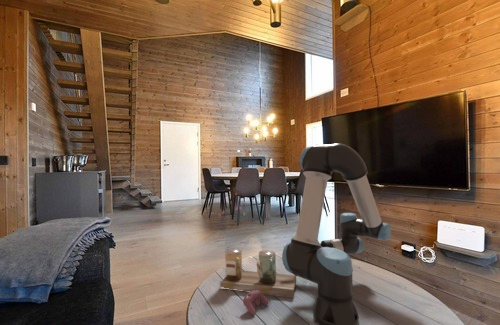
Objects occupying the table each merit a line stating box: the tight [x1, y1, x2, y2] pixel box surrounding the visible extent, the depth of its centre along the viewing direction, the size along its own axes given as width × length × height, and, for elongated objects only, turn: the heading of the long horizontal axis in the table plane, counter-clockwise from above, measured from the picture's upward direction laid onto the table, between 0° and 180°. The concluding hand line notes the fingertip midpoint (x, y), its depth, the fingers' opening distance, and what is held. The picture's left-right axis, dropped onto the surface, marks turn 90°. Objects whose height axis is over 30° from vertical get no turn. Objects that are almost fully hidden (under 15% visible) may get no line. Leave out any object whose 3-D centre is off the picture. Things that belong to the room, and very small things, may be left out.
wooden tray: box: [219, 270, 297, 298], centre depth 114 cm, size 16×32×3 cm, turn 76°
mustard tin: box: [224, 247, 243, 281], centre depth 117 cm, size 8×8×12 cm
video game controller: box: [242, 290, 269, 316], centre depth 96 cm, size 10×5×7 cm, turn 141°
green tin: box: [256, 249, 277, 285], centre depth 113 cm, size 8×8×12 cm
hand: (288, 253), depth 115 cm, fingers open, 13 cm apart
